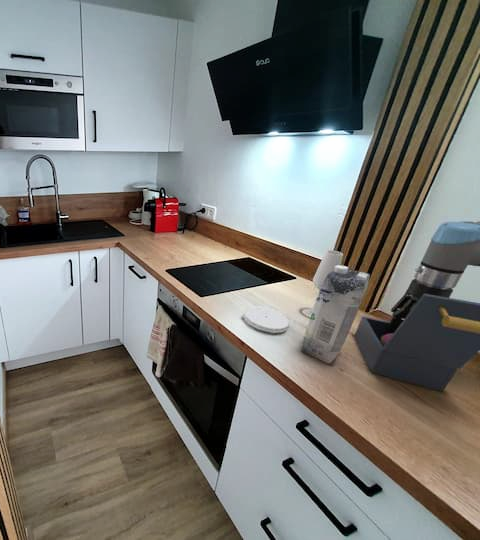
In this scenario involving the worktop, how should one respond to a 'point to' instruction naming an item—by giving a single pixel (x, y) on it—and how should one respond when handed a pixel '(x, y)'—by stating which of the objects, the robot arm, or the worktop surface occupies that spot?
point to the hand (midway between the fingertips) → (397, 350)
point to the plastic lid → (266, 319)
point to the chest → (398, 359)
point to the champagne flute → (324, 272)
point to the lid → (439, 331)
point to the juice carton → (334, 312)
